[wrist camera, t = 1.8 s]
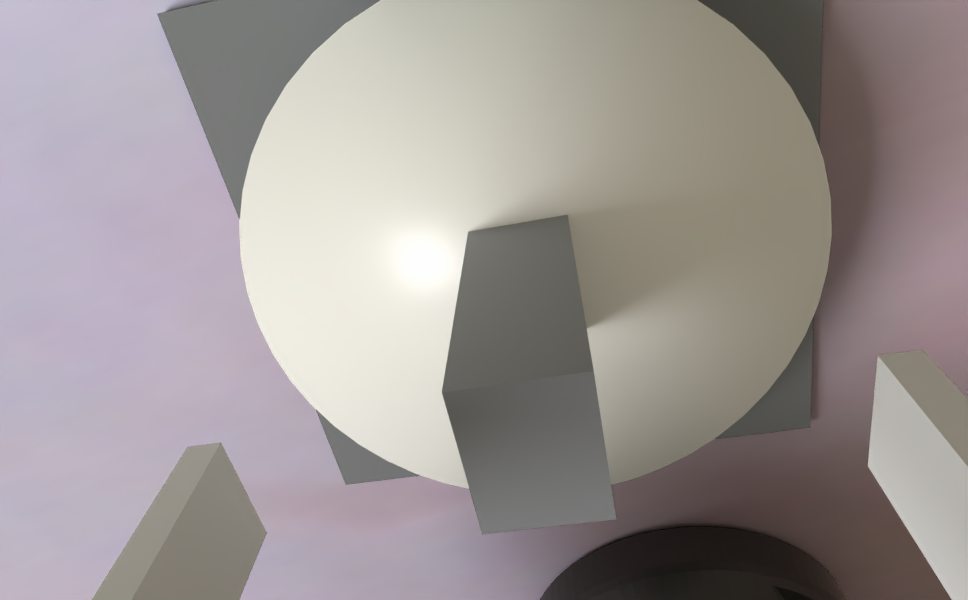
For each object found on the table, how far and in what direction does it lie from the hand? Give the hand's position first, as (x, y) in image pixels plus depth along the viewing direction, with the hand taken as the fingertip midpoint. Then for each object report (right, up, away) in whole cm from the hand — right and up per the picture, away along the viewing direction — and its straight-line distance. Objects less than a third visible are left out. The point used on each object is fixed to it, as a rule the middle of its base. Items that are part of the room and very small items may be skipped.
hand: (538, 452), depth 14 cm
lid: (0, +5, +9) cm, 11 cm away
